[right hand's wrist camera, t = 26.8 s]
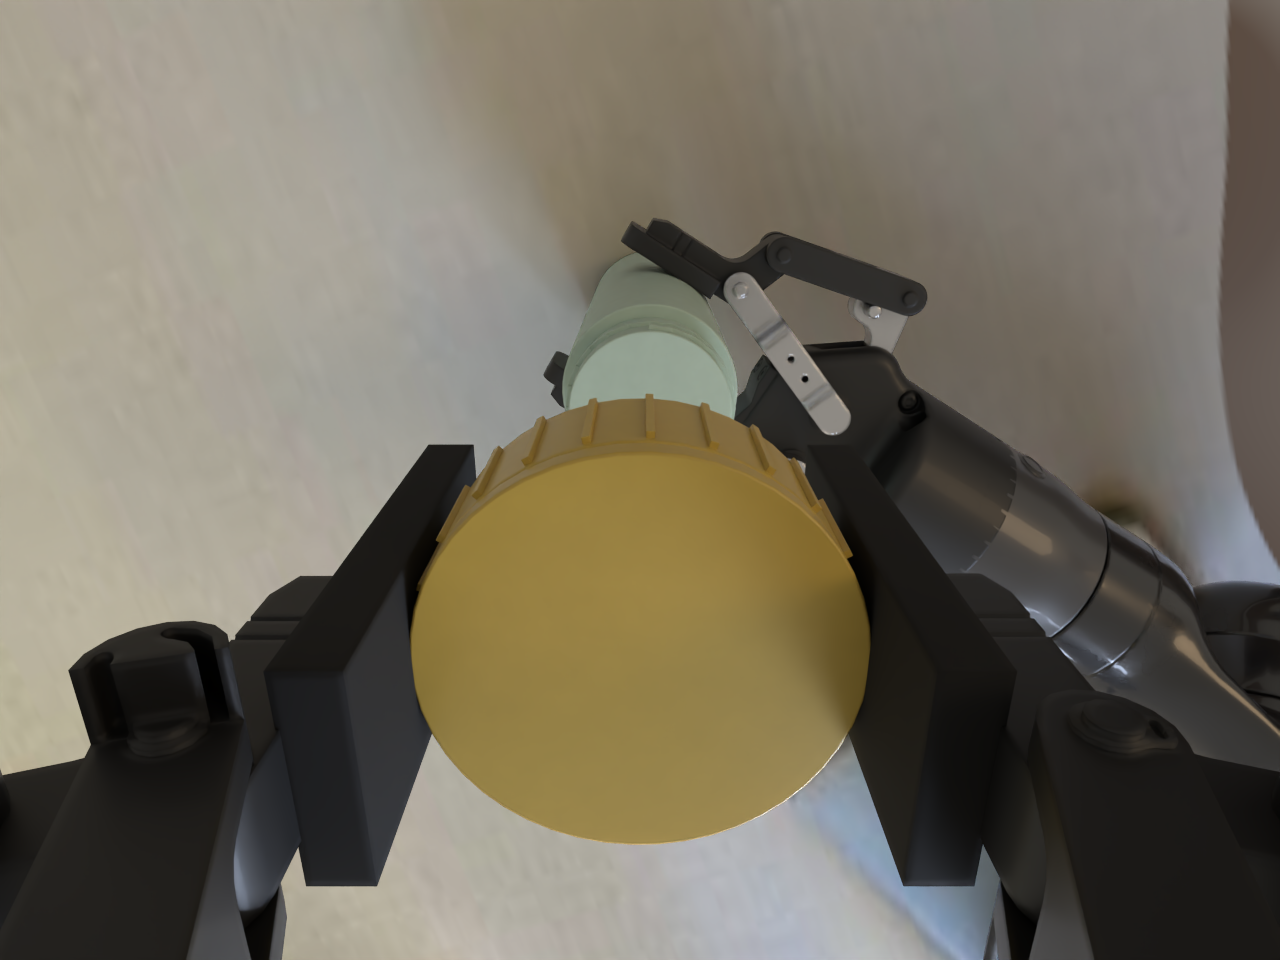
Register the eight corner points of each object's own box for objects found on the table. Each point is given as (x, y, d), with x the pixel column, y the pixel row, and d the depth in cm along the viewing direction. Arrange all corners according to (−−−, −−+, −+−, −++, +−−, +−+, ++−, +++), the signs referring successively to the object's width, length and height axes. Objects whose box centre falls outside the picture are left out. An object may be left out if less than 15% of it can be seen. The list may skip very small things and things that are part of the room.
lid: (836, 727, 13) (874, 834, 11) (478, 752, 13) (448, 863, 11) (836, 373, 11) (881, 425, 9) (409, 410, 11) (357, 470, 9)
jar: (695, 368, 38) (729, 510, 22) (588, 355, 38) (547, 489, 22) (712, 258, 36) (760, 329, 21) (599, 244, 36) (563, 304, 20)
